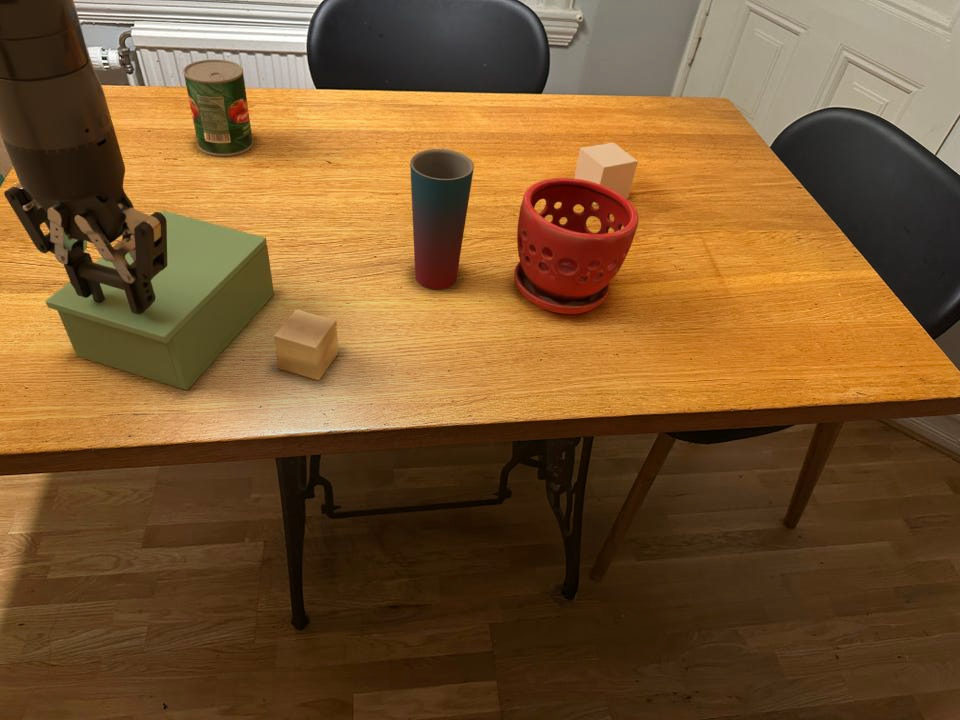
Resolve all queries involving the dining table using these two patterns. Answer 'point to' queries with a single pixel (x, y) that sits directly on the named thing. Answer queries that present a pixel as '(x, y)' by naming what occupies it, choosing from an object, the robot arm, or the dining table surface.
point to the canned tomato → (219, 107)
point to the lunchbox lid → (164, 279)
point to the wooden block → (306, 344)
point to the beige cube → (607, 167)
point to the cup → (439, 214)
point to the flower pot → (571, 244)
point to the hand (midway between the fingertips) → (116, 299)
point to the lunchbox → (179, 332)
